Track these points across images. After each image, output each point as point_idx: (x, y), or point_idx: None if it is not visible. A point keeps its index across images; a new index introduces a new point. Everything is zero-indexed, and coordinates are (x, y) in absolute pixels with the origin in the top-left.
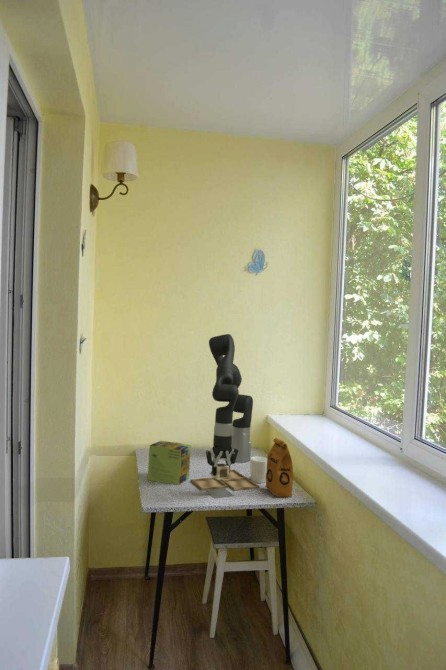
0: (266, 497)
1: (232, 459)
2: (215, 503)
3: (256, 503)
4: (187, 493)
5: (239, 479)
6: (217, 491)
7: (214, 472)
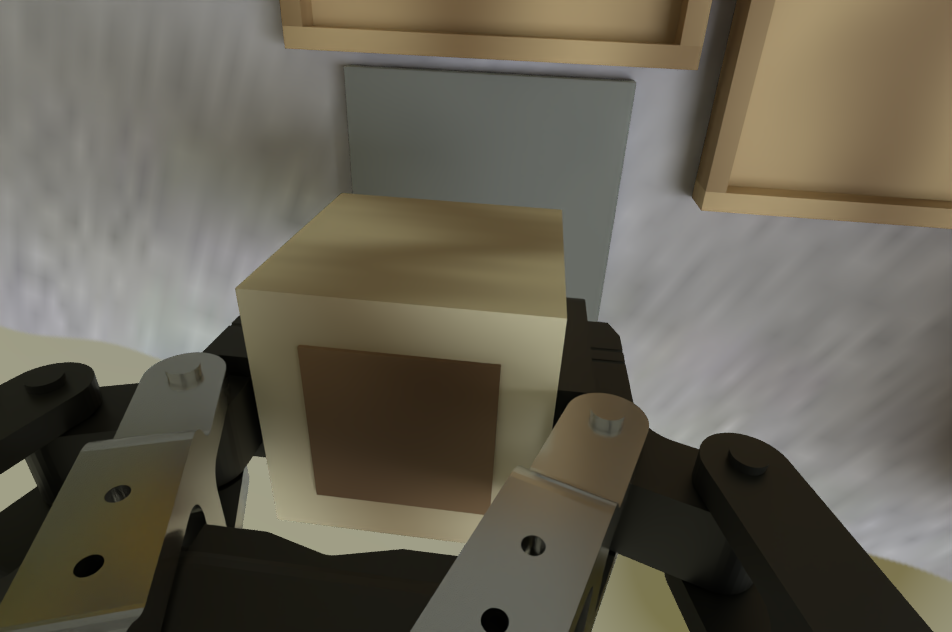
0: (897, 444)
1: (781, 526)
2: None
3: None
4: (122, 38)
5: None
6: (477, 158)
7: None
